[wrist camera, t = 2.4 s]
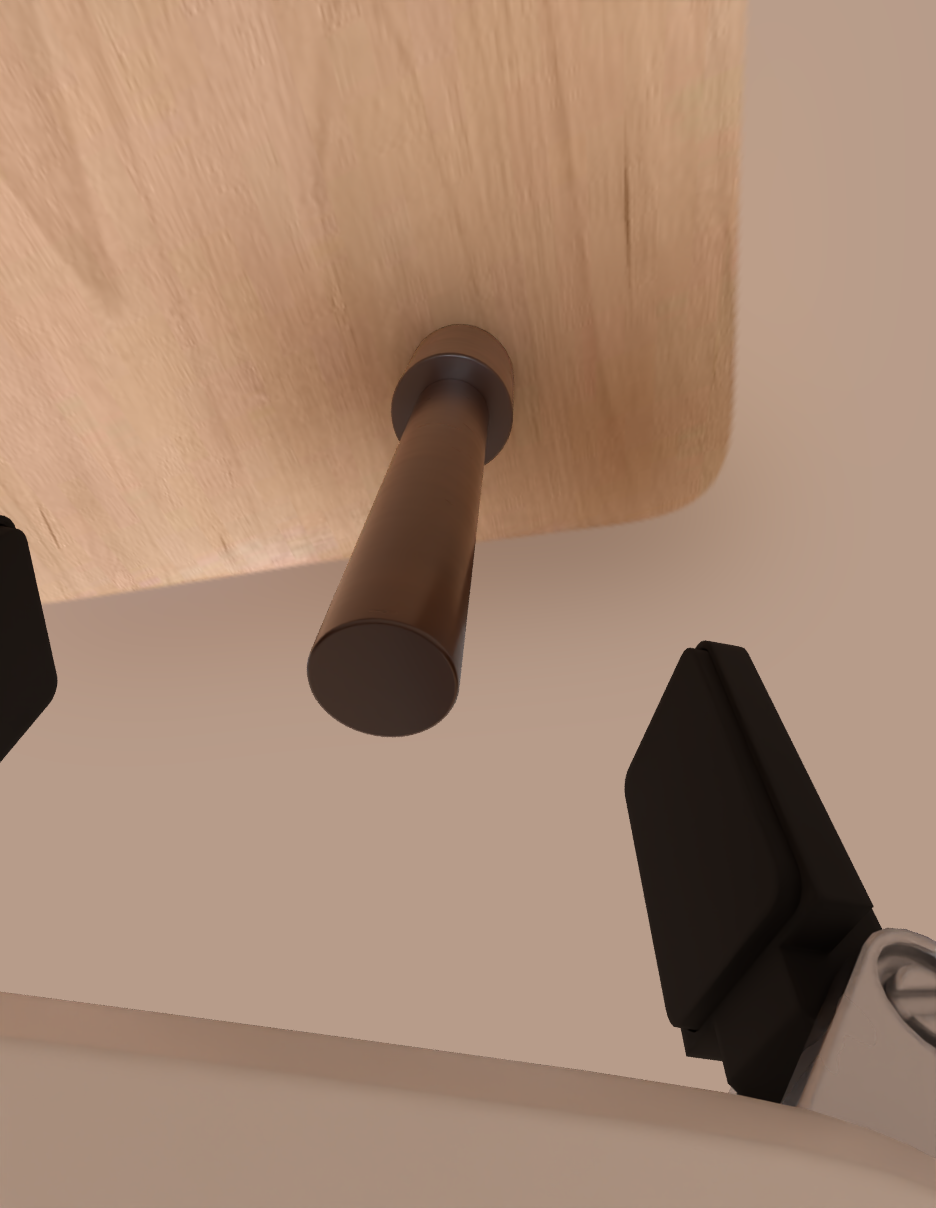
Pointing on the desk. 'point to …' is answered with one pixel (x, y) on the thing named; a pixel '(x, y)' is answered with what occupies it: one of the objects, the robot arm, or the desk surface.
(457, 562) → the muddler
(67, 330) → the desk surface
